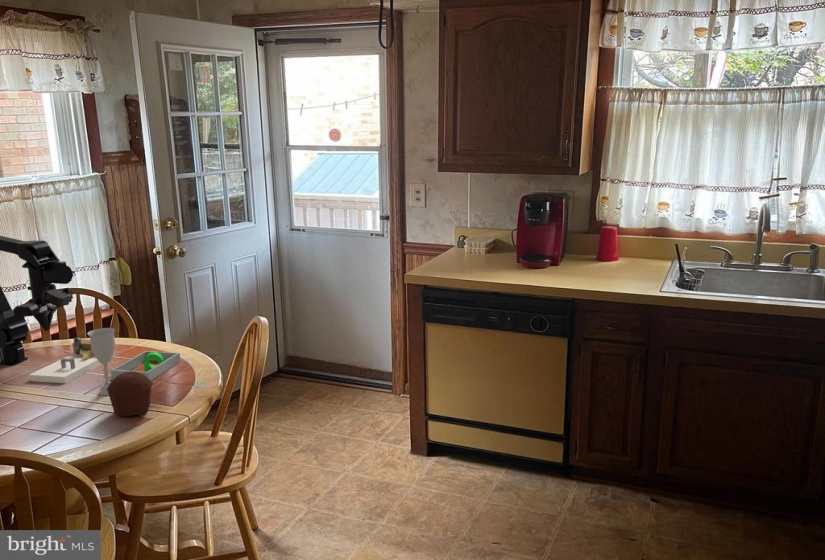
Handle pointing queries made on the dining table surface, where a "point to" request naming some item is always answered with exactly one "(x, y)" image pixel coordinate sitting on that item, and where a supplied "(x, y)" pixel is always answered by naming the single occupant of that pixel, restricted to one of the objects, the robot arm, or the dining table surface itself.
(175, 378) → the dining table surface
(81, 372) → the door board
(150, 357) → the mechanical part
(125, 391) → the muffin
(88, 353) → the bolt
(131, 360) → the frame
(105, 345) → the chalice
